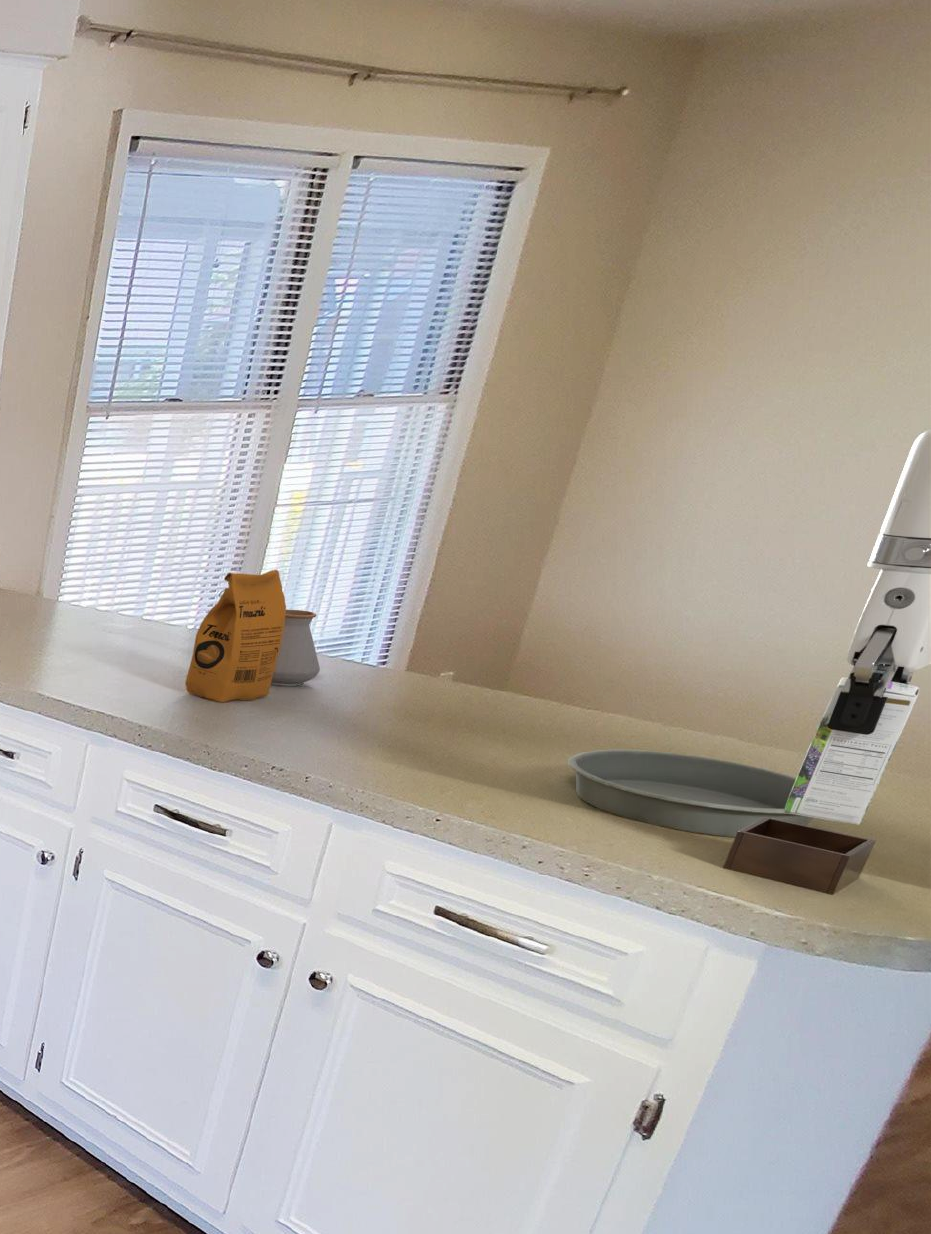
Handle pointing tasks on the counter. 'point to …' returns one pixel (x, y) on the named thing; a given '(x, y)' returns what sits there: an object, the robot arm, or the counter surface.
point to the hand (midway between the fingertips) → (861, 724)
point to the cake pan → (682, 790)
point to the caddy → (799, 855)
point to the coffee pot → (296, 651)
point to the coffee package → (239, 640)
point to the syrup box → (849, 761)
